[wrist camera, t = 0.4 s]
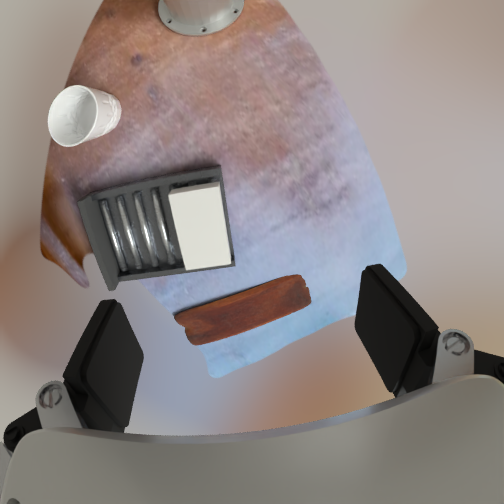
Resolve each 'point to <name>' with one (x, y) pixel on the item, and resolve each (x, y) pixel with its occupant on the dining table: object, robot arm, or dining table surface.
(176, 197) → the slab
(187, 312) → the wooden tablet
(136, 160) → the dining table surface
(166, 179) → the roller track
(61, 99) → the white cup
